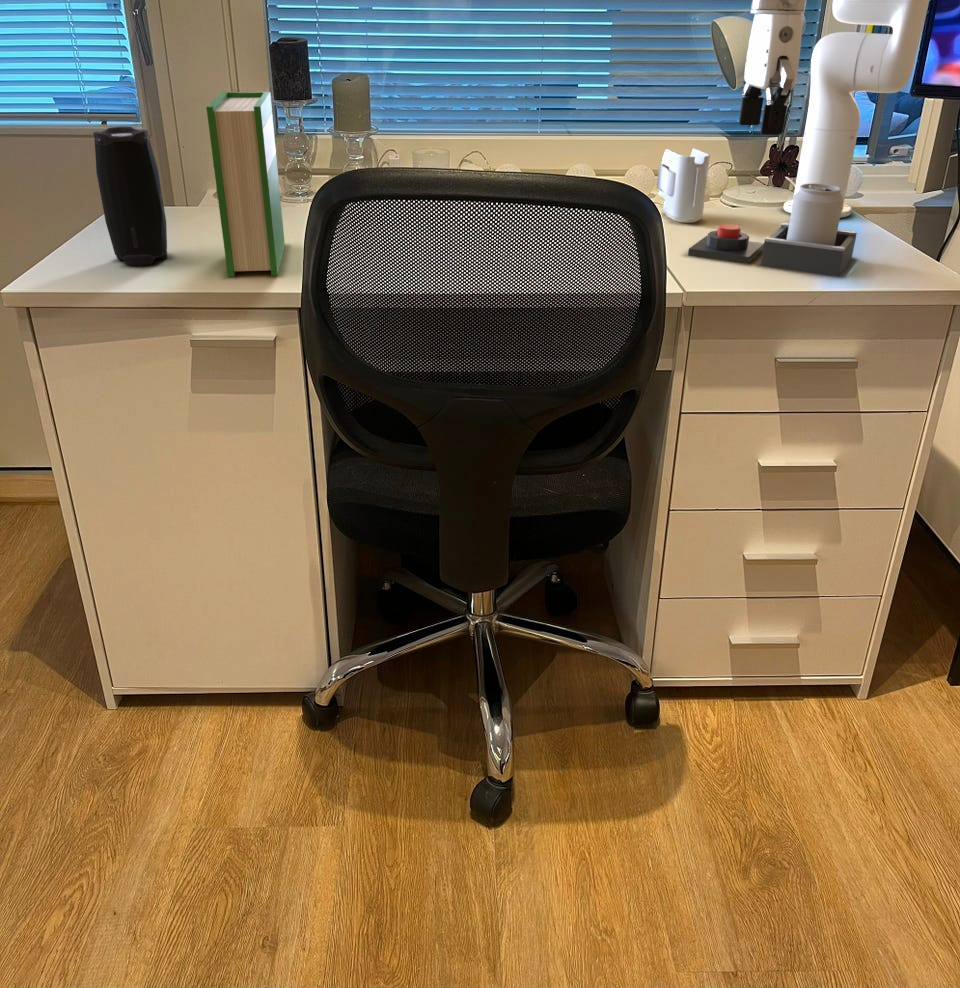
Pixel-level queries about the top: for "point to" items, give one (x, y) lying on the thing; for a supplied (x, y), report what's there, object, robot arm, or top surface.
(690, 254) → the control block
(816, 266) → the grey open tray
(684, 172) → the cable organizer
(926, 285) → the top surface
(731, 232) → the release button
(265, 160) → the hardback book
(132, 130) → the portable speaker
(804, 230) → the can
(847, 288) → the top surface
